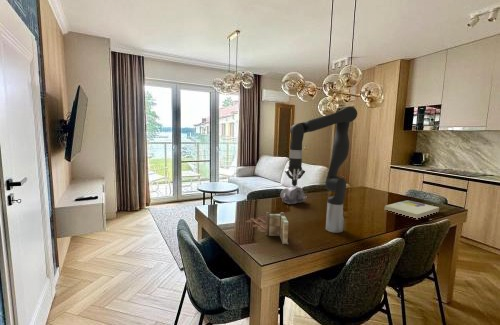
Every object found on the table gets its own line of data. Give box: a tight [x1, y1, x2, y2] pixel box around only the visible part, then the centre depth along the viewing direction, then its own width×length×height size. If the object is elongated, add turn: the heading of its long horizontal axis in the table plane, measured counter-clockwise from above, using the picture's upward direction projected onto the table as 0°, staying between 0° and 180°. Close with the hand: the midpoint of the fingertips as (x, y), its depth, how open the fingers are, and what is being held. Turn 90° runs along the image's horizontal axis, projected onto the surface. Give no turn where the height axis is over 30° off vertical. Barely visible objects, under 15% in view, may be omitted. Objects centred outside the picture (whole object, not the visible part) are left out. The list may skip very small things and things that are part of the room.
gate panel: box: [279, 215, 289, 244], centre depth 134 cm, size 10×2×12 cm, turn 3°
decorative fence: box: [245, 216, 266, 233], centre depth 157 cm, size 23×2×15 cm
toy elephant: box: [279, 185, 308, 205], centre depth 209 cm, size 20×18×15 cm
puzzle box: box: [384, 200, 440, 220], centre depth 194 cm, size 36×5×24 cm
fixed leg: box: [264, 211, 285, 236], centre depth 140 cm, size 10×2×13 cm, turn 93°
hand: (294, 185), depth 150 cm, fingers closed
